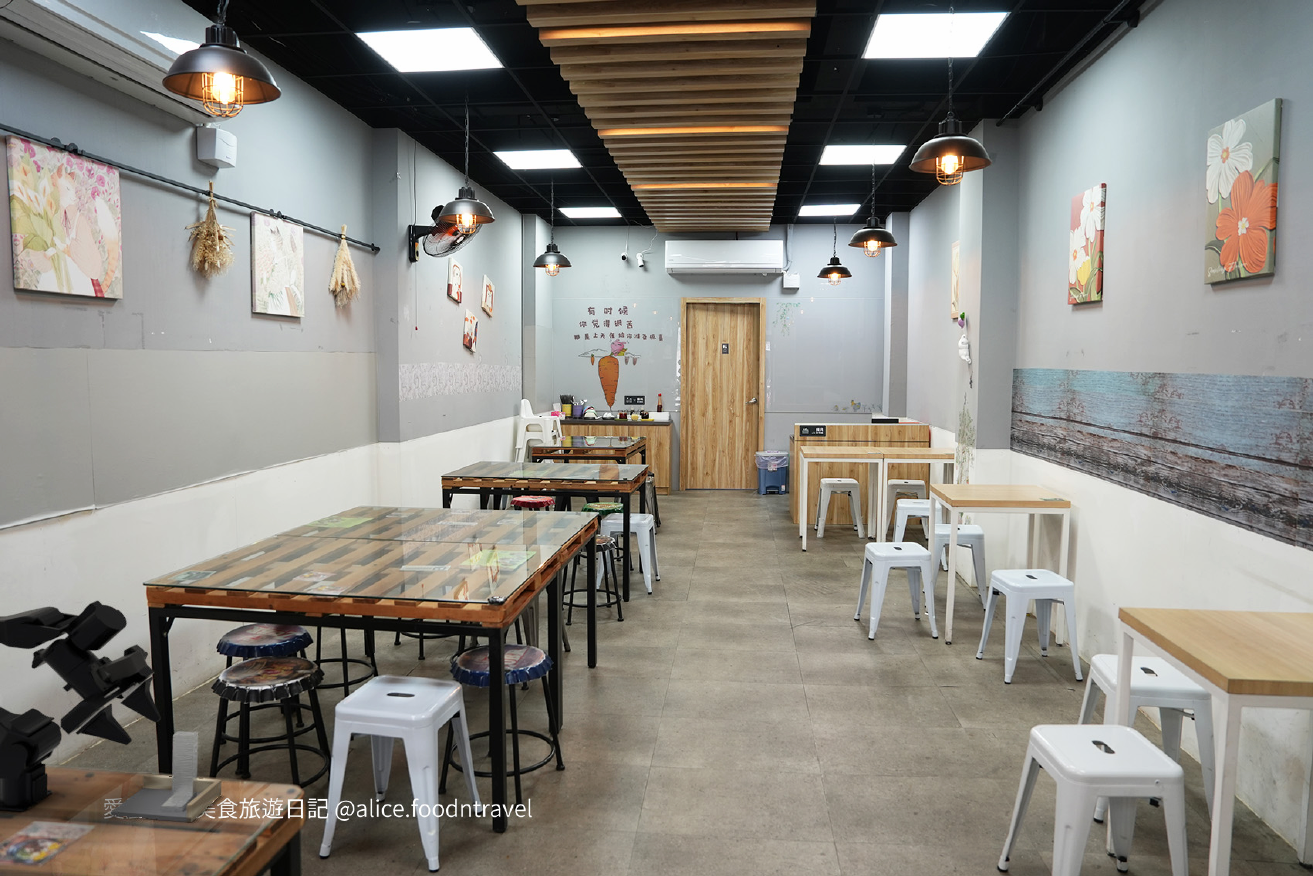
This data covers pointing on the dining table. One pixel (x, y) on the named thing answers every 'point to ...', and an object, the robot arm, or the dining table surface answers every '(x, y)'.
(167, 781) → the wooden corner walls
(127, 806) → the charcoal mat
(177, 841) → the dining table surface
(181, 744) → the aluminium bracket
